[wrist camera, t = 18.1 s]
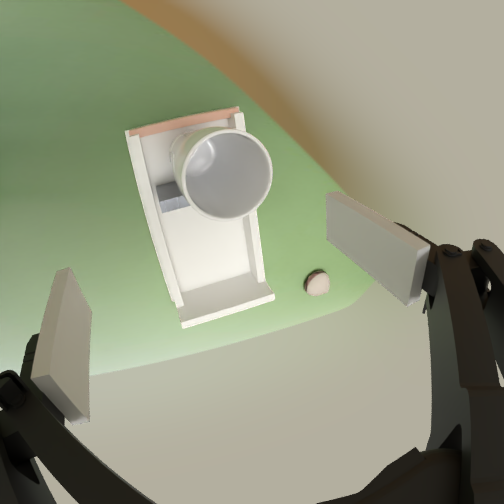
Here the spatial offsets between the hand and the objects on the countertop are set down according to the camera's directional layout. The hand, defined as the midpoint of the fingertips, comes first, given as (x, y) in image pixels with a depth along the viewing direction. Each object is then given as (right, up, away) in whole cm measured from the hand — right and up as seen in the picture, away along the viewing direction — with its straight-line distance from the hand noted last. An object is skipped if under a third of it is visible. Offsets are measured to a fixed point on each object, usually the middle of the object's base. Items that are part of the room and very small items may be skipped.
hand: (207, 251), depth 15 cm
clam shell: (+12, -5, +36) cm, 38 cm away
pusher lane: (-4, +5, +24) cm, 25 cm away
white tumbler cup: (-5, +11, +19) cm, 23 cm away
